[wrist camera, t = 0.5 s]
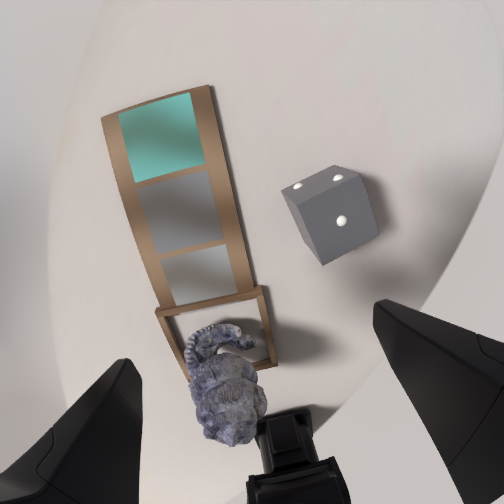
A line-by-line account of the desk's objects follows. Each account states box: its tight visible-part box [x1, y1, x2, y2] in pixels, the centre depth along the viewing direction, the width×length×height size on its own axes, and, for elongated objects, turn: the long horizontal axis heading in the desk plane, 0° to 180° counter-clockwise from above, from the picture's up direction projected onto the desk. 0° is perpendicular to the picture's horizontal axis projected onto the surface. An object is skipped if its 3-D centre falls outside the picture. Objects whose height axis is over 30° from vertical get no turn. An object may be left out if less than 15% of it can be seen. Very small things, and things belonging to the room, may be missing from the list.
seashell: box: [184, 324, 267, 447], centre depth 18 cm, size 5×5×10 cm
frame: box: [155, 285, 278, 383], centre depth 22 cm, size 8×8×1 cm
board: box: [101, 85, 256, 317], centre depth 18 cm, size 15×7×1 cm, turn 11°
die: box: [281, 165, 380, 266], centre depth 17 cm, size 4×4×4 cm
